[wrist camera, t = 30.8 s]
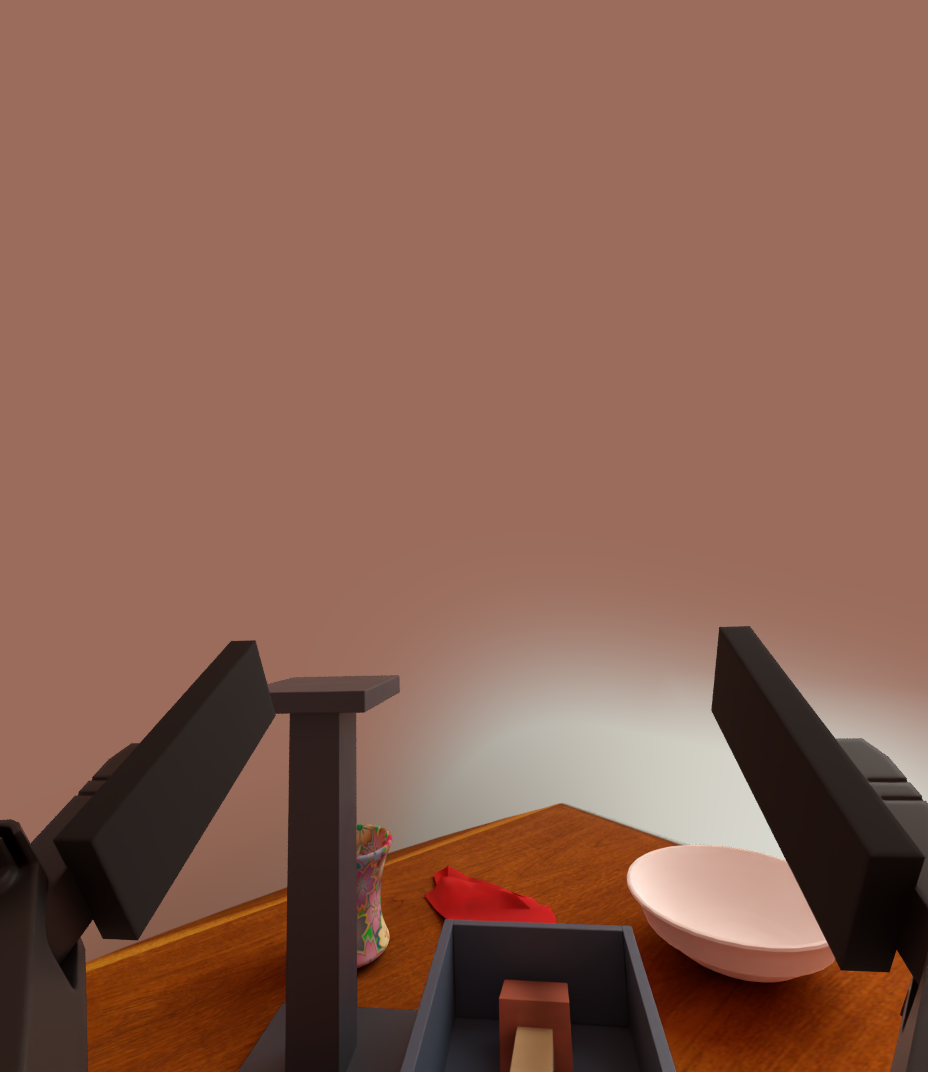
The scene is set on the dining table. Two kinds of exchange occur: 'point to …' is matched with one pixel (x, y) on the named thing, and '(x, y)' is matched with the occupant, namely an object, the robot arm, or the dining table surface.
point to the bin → (547, 956)
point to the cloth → (483, 901)
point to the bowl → (730, 911)
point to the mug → (370, 892)
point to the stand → (326, 891)
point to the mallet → (535, 1027)
